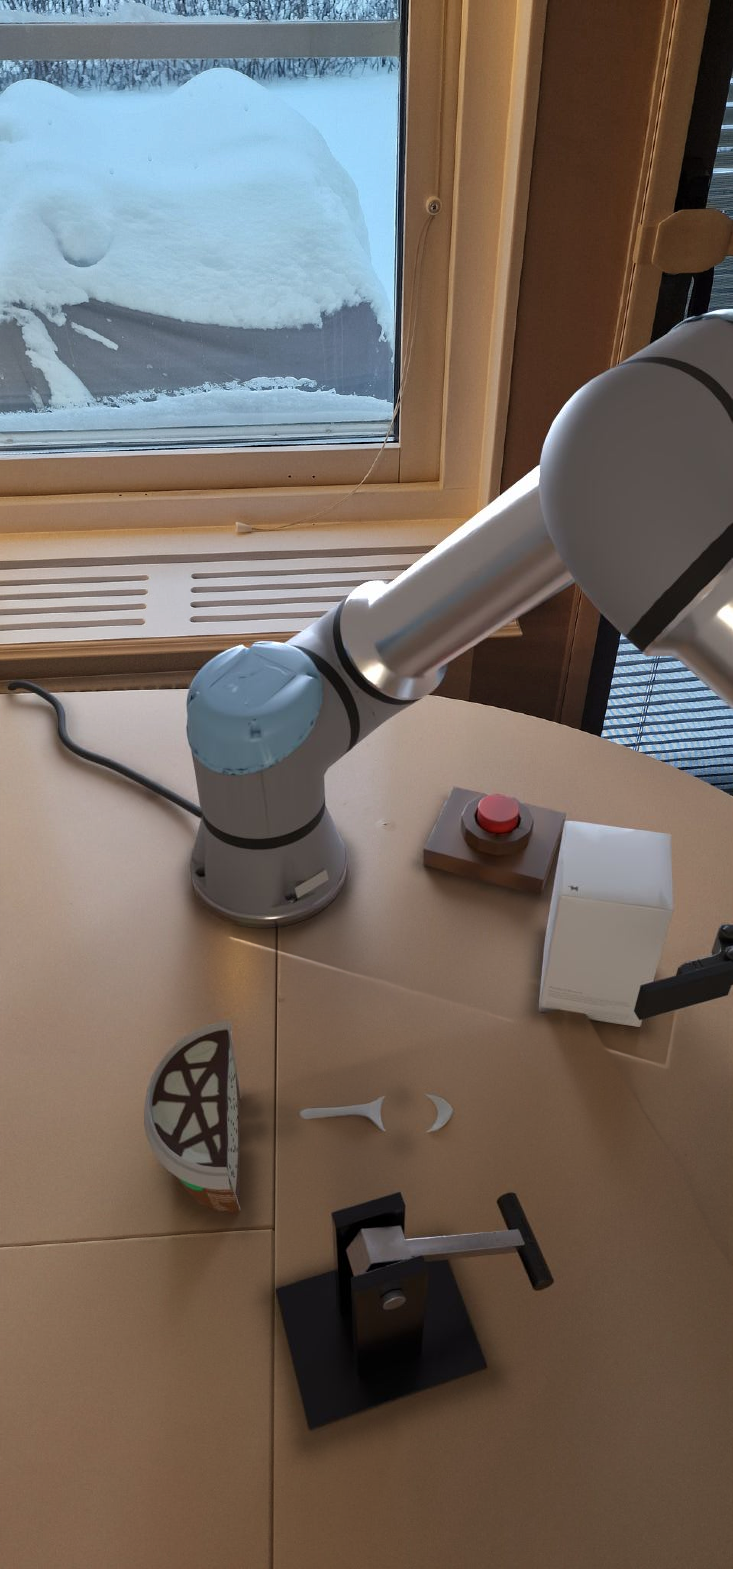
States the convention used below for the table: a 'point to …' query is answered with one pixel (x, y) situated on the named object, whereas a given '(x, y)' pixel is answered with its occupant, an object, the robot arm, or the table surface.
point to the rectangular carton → (606, 920)
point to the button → (498, 814)
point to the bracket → (375, 1325)
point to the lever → (454, 1245)
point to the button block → (495, 843)
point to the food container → (198, 1116)
